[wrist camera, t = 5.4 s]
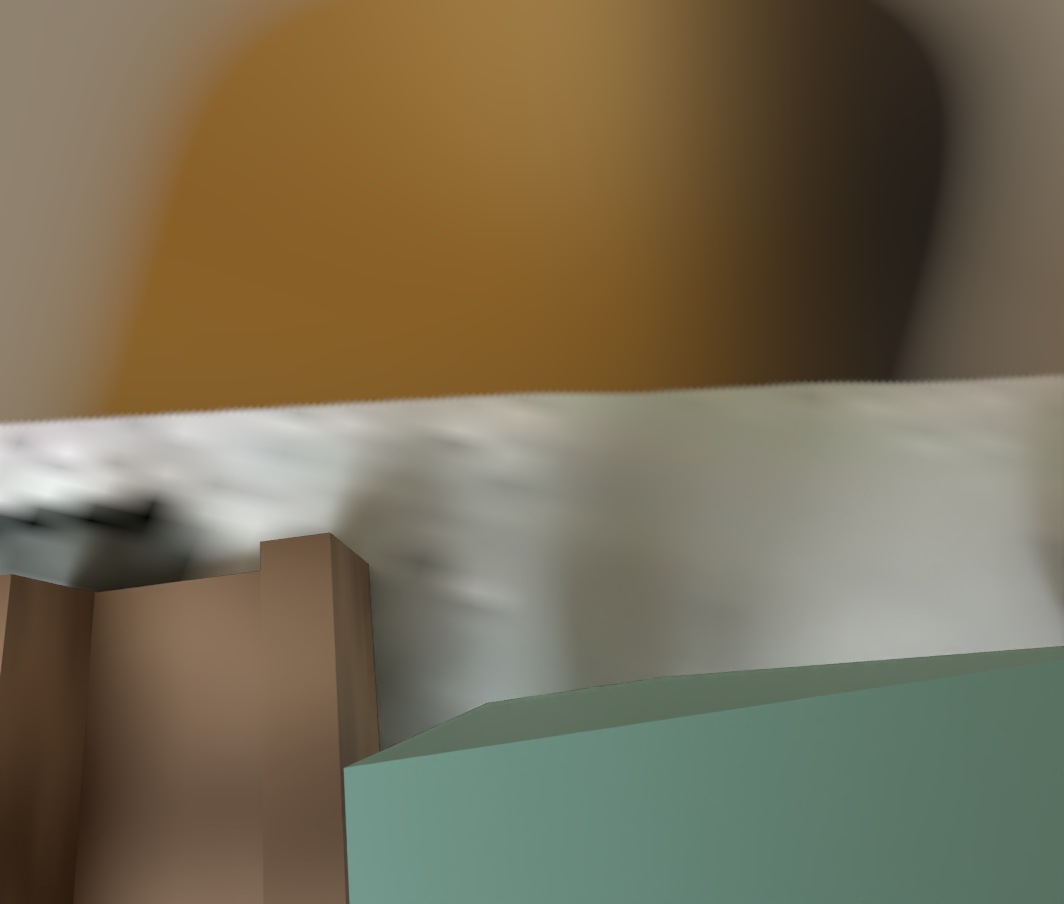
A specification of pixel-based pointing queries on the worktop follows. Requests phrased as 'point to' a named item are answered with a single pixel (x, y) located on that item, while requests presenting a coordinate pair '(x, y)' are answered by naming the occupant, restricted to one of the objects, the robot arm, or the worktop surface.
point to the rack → (186, 733)
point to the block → (731, 791)
